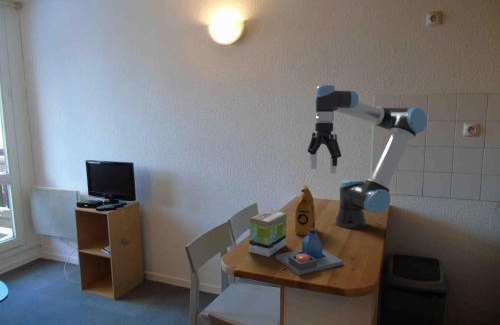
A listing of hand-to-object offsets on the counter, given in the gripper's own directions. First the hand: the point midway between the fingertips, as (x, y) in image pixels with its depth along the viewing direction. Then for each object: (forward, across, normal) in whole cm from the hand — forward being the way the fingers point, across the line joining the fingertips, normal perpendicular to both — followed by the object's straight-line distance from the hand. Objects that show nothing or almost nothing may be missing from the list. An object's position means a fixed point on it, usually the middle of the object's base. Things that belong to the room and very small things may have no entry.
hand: (322, 171), depth 152 cm
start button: (+29, +20, -24) cm, 42 cm away
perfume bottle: (+32, +14, -15) cm, 38 cm away
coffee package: (+32, -13, 0) cm, 34 cm away
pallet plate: (+32, +16, -18) cm, 40 cm away
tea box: (+32, -2, -26) cm, 41 cm away
